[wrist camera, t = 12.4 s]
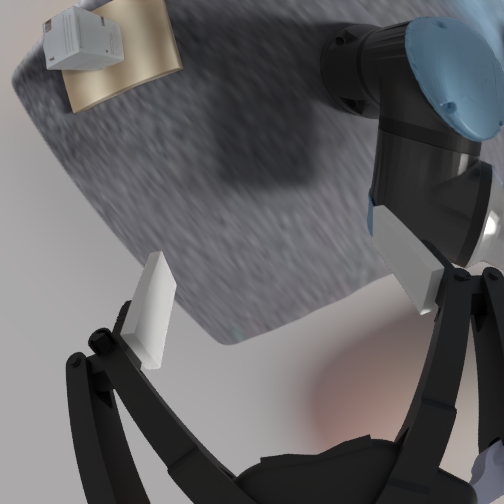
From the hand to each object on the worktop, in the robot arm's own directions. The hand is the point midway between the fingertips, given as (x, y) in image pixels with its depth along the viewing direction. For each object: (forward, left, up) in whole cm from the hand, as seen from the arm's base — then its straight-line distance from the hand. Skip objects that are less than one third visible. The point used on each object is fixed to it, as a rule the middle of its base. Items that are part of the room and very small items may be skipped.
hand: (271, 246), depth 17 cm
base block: (+14, -21, -27) cm, 37 cm away
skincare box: (+14, -21, -23) cm, 34 cm away
